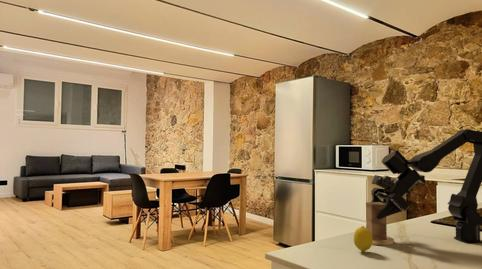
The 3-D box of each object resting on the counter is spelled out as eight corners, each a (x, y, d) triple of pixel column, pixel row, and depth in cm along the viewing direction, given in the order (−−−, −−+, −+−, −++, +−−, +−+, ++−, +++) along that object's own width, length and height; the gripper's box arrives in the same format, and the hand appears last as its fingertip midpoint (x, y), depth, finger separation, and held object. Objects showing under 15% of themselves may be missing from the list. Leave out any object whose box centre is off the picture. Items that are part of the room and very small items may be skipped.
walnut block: (380, 236, 124) (380, 202, 124) (386, 240, 119) (386, 204, 119) (366, 236, 123) (365, 202, 124) (372, 240, 118) (371, 204, 119)
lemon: (374, 255, 105) (373, 228, 105) (354, 254, 106) (354, 227, 106) (371, 250, 110) (370, 224, 111) (352, 249, 112) (352, 223, 112)
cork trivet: (384, 236, 127) (384, 234, 127) (400, 245, 116) (400, 242, 116) (354, 237, 126) (354, 234, 126) (368, 245, 115) (368, 242, 115)
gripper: (376, 165, 131) (347, 195, 131) (398, 168, 113) (365, 203, 112) (397, 186, 131) (368, 216, 131) (423, 193, 112) (390, 228, 112)
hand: (372, 215), depth 121 cm, fingers open, 9 cm apart
